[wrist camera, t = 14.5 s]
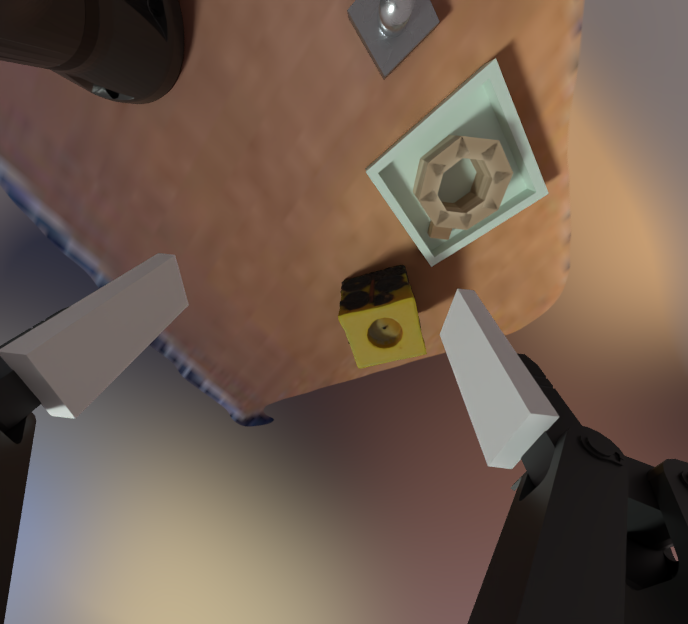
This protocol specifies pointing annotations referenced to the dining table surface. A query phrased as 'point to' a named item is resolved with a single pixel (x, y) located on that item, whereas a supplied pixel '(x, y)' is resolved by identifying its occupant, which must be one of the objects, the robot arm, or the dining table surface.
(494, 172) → the ring
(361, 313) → the yellow cube with holes
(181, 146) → the dining table surface
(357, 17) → the grey peg stand
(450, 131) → the tray
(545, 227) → the dining table surface
